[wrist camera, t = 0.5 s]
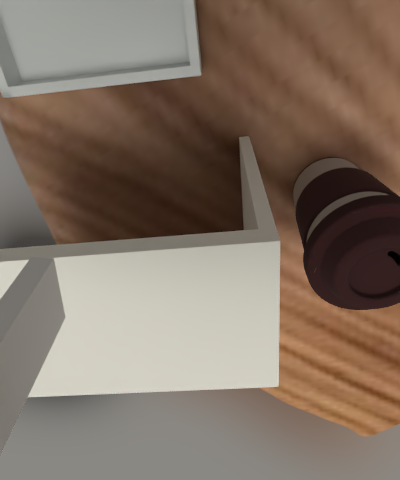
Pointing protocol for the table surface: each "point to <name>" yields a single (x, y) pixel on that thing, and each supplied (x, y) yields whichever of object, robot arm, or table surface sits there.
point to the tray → (95, 43)
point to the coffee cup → (349, 235)
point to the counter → (166, 306)
